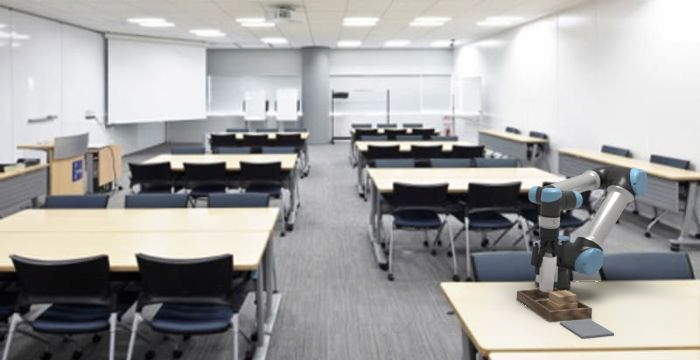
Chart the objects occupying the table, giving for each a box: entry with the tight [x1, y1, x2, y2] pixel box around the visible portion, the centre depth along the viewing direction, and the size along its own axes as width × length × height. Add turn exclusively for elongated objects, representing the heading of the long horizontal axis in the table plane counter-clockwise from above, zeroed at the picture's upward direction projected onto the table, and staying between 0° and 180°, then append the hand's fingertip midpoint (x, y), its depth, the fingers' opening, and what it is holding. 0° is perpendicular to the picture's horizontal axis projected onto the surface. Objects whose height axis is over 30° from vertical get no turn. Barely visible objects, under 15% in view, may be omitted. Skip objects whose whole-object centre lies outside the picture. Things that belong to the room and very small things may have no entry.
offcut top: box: [548, 290, 577, 305], centre depth 214 cm, size 8×6×3 cm
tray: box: [516, 288, 593, 323], centre depth 221 cm, size 18×24×4 cm
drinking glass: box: [538, 253, 557, 293], centre depth 225 cm, size 7×7×15 cm
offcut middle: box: [546, 298, 578, 311], centre depth 215 cm, size 9×7×3 cm
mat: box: [559, 318, 615, 340], centre depth 201 cm, size 13×13×1 cm
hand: (546, 281), depth 225 cm, fingers closed on drinking glass, 6 cm apart
